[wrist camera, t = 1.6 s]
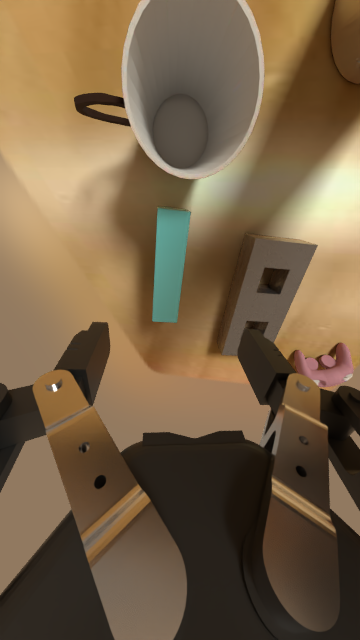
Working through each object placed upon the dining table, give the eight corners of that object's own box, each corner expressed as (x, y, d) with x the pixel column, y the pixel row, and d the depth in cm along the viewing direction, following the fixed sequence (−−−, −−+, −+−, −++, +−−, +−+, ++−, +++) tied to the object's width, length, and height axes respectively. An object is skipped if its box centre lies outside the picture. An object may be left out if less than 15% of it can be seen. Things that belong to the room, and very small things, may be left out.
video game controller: (285, 357, 41) (301, 392, 38) (294, 349, 37) (312, 386, 34) (333, 349, 41) (352, 383, 38) (346, 340, 37) (370, 377, 34)
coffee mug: (237, 109, 20) (294, 46, 12) (197, 199, 24) (217, 202, 15) (124, 19, 17) (85, -165, 8) (98, 142, 20) (53, 104, 12)
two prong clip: (158, 204, 24) (157, 207, 18) (183, 208, 24) (190, 212, 18) (153, 296, 30) (152, 321, 24) (173, 297, 30) (176, 322, 24)
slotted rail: (245, 233, 26) (255, 238, 23) (300, 239, 27) (317, 245, 24) (216, 341, 36) (221, 354, 33) (258, 343, 37) (267, 356, 34)
